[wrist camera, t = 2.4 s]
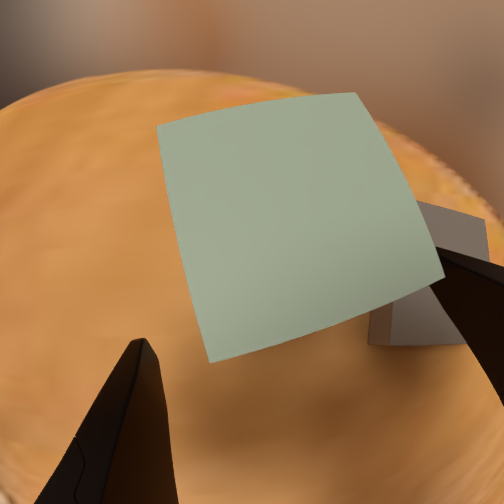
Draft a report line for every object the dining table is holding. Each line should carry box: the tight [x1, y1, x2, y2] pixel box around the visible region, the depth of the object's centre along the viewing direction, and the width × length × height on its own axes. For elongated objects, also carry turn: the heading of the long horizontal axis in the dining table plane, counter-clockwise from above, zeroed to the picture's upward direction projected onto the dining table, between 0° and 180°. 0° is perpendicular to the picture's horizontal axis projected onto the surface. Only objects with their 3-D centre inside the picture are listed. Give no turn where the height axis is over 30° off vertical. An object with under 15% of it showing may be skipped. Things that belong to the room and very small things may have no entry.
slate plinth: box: [368, 201, 490, 346], centre depth 16 cm, size 9×9×3 cm
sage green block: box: [156, 93, 445, 363], centre depth 11 cm, size 5×5×12 cm
